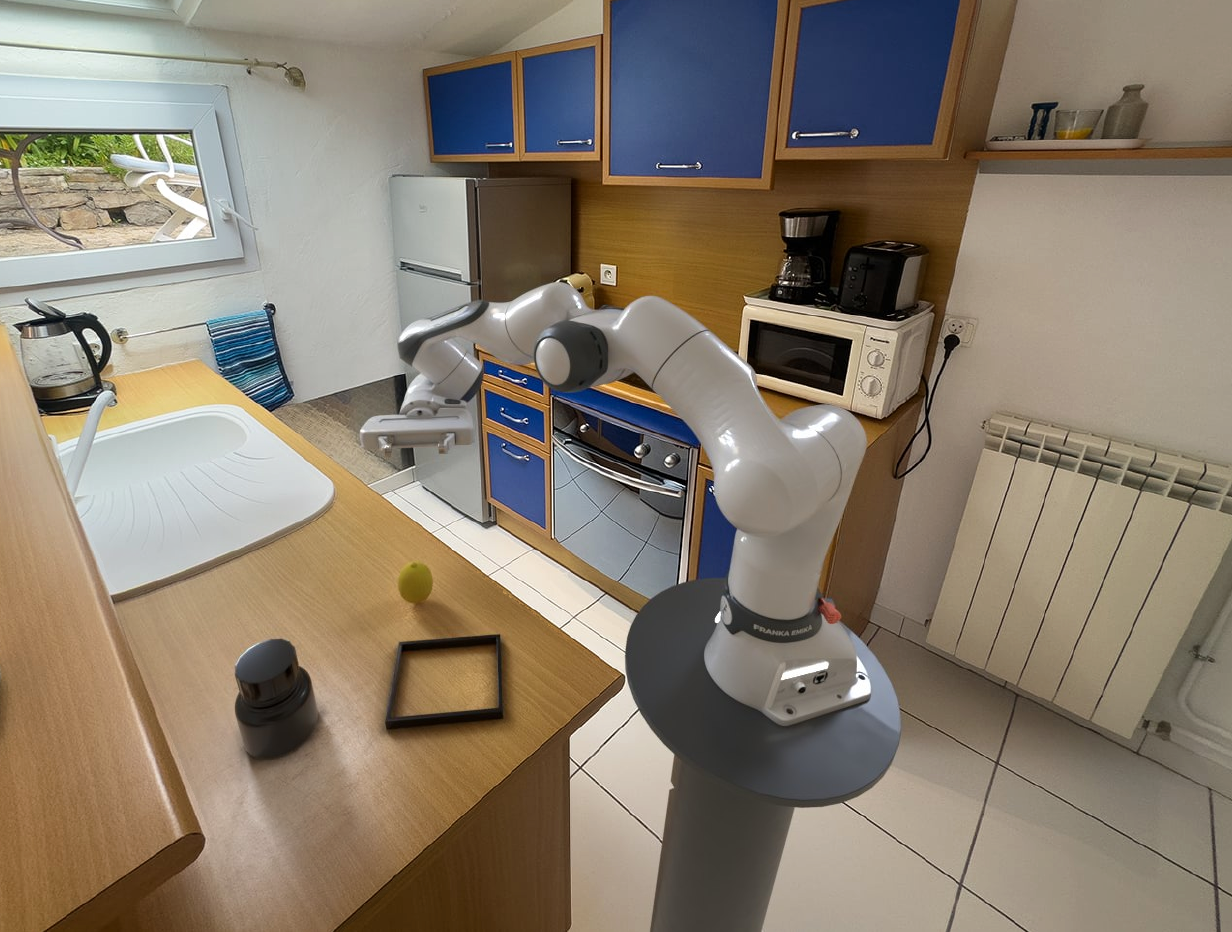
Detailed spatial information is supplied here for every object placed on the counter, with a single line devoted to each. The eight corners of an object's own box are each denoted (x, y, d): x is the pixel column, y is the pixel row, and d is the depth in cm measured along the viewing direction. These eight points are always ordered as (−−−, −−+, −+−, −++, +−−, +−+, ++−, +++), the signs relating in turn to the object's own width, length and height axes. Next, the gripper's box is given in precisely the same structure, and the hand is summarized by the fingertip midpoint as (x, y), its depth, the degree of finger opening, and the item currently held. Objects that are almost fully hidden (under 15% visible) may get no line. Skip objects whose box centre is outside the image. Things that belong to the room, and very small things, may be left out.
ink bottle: (322, 689, 80) (309, 623, 76) (322, 746, 73) (307, 677, 68) (244, 711, 77) (226, 643, 73) (236, 773, 70) (214, 702, 65)
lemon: (409, 587, 99) (405, 550, 96) (439, 593, 98) (436, 554, 95) (394, 611, 94) (389, 572, 91) (426, 616, 93) (422, 577, 90)
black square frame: (500, 641, 89) (500, 633, 88) (503, 718, 77) (503, 711, 76) (399, 649, 87) (398, 641, 86) (385, 730, 75) (384, 721, 74)
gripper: (365, 404, 109) (349, 438, 96) (474, 400, 111) (473, 432, 98) (369, 434, 111) (354, 471, 98) (476, 429, 113) (475, 465, 101)
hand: (414, 451), depth 98 cm, fingers open, 8 cm apart
